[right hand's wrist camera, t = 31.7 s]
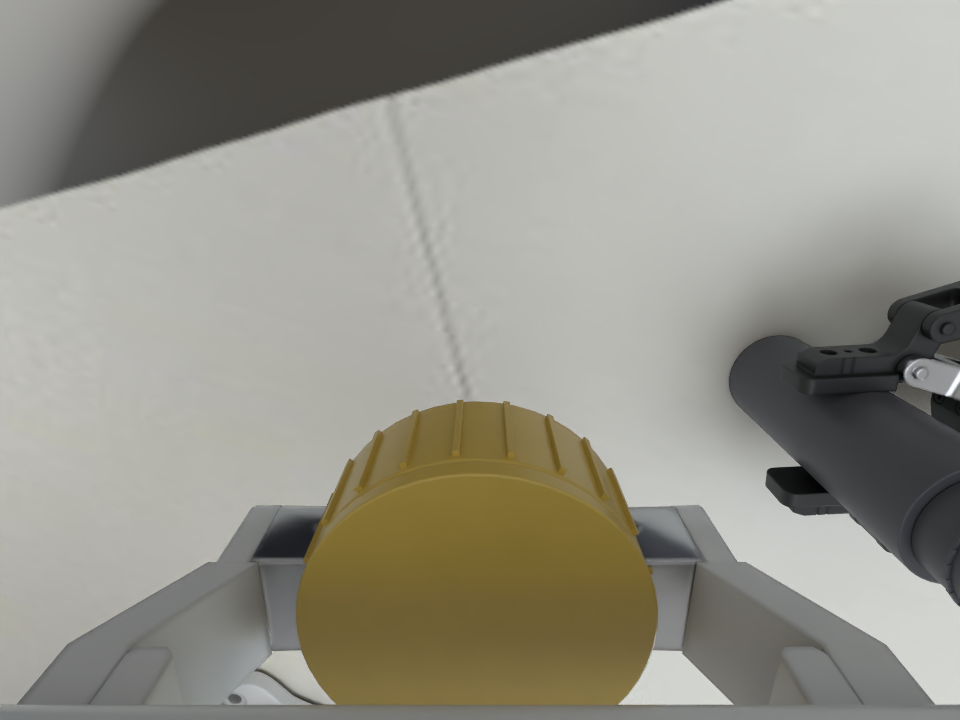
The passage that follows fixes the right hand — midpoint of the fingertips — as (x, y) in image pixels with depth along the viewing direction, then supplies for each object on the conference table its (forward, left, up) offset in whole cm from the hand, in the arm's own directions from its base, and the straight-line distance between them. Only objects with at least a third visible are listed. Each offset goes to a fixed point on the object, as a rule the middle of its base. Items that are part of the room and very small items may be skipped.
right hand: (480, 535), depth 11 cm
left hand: (+13, -6, -13) cm, 19 cm away
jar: (+15, -6, -20) cm, 26 cm away
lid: (0, 0, +2) cm, 2 cm away
